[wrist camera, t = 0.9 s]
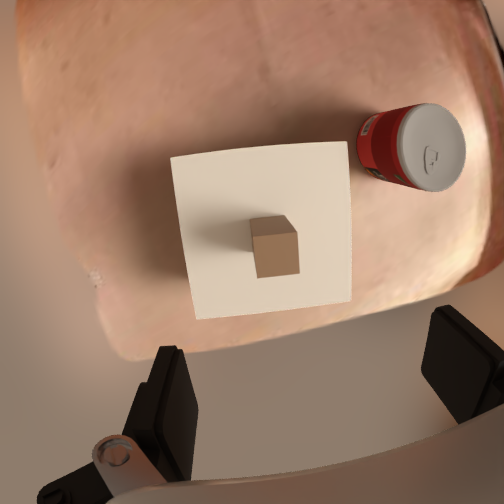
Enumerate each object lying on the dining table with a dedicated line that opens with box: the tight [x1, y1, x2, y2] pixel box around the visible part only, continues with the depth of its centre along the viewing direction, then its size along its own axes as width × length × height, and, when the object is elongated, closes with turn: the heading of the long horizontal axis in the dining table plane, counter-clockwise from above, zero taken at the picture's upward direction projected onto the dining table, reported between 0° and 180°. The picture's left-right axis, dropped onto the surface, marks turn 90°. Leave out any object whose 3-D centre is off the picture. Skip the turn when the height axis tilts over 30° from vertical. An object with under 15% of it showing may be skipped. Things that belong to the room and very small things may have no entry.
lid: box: [170, 141, 352, 319], centre depth 25 cm, size 15×15×7 cm
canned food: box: [356, 103, 466, 192], centre depth 28 cm, size 8×8×11 cm
